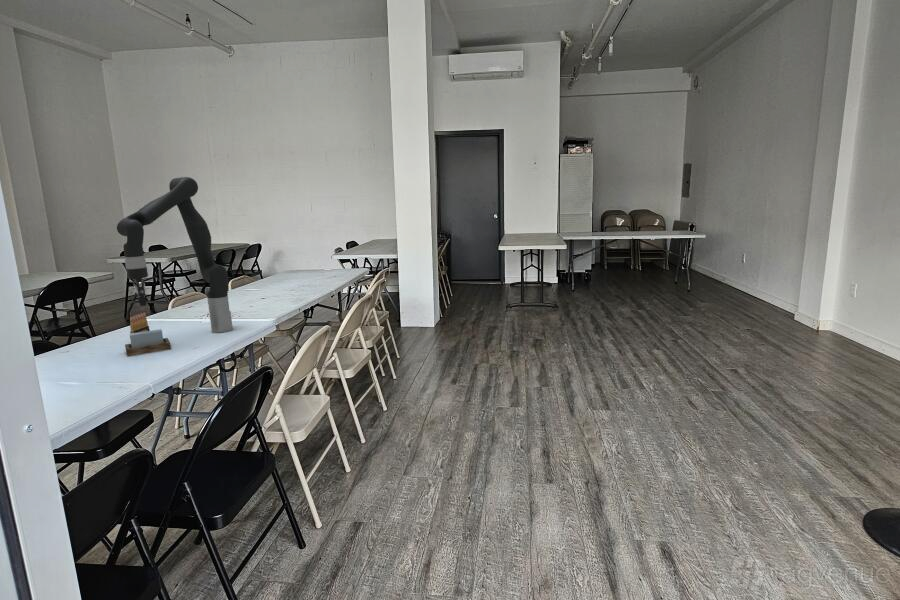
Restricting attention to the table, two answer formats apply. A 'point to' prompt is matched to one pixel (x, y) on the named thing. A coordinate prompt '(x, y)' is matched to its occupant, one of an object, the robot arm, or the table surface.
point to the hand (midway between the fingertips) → (142, 304)
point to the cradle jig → (148, 348)
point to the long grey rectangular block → (146, 338)
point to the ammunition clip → (139, 324)
